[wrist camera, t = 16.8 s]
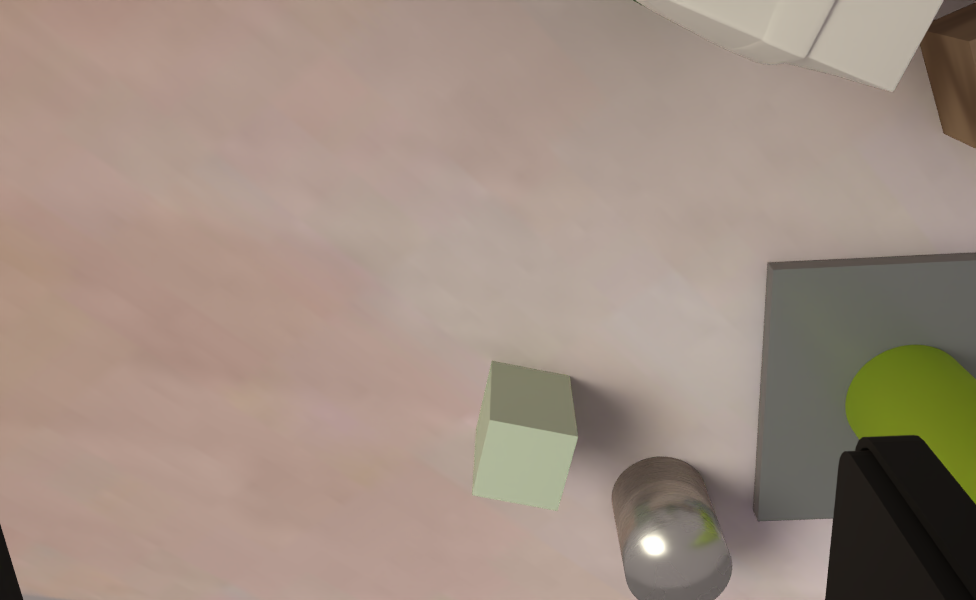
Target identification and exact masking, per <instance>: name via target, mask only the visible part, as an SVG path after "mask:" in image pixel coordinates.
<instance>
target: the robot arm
mask: <svg viewBox="0 0 976 600" xmlns="http://www.w3.org/2000/svg"><path fill="white" fill-rule="evenodd" d="M0 600H23V597H22V594H21V591H20V588H19V584H18V581H17V578H16V574H15V571H14V568H13V565H12V561H11V558H10V555H9V551H8V548H7V545H6V542H5V538H4V535H3V532H2V529H1V525H0ZM825 600H976V504H975V503H974V501H973V500H972V499H971V498H970V497H969V495H968V494H967V493H966V492H965V490H964V489H963V488H962V487H961V485H960V484H959V483H958V482H957V481H956V479H955V478H954V477H953V476H952V474H951V473H950V472H949V471H948V470H947V468H946V467H945V466H944V465H943V463H942V462H941V461H940V460H939V459H938V457H937V456H936V455H935V454H934V452H933V451H932V450H931V449H930V447H929V446H928V445H927V444H926V443H925V441H924V440H923V439H921V438H920V437H919V436H917V435H901V436H876V437H862V438H861V439H860V440H859V441H858V443H857V445H856V448H855V451H844V452H843V453H842V454H841V456H840V459H839V465H838V475H837V485H836V495H835V505H834V516H833V526H832V536H831V546H830V557H829V567H828V577H827V587H826V597H825Z"/></svg>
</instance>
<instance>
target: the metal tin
mask: <svg viewBox="0 0 976 600" xmlns="http://www.w3.org/2000/svg"><path fill="white" fill-rule="evenodd" d="M612 507H613V512H614V517H615V523H616V528H617V534H618V539H619V544H620V550H621V555H622V561H623V566H624V571H625V577H626V581H627V584H628V587H629V589H630V590H631V592H632V593H633V595H634V596H635V597H636V598H637V599H638V600H714V599H716V598H717V597H718V596H719V595H720V594H721V593H722V592H723V590H724V589H725V587H726V586H727V584H728V582H729V580H730V577H731V572H732V561H731V556H730V554H729V551H728V548H727V545H726V542H725V540H724V537H723V534H722V531H721V528H720V526H719V523H718V520H717V517H716V515H715V512H714V509H713V506H712V503H711V501H710V498H709V495H708V492H707V489H706V487H705V484H704V481H703V479H702V477H701V476H700V474H699V473H698V472H697V471H696V470H695V469H694V468H693V467H692V466H691V465H689V464H688V463H686V462H684V461H681V460H679V459H676V458H671V457H652V458H647V459H644V460H641V461H639V462H637V463H635V464H633V465H631V466H630V467H629V468H627V469H626V470H625V471H624V472H623V473H622V474H621V475H620V477H619V478H618V479H617V481H616V483H615V485H614V488H613V491H612Z"/></svg>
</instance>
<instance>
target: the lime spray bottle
mask: <svg viewBox="0 0 976 600" xmlns="http://www.w3.org/2000/svg"><path fill="white" fill-rule="evenodd" d="M845 409H846V416H847V420H848V422H849V425H850V427H851V428H852V430H853V431H854V433H855V434H856V436H857V437H858V439H859V440H860V439H861V438H862V437H876V436H901V435H917V436H919V437H920V438H921V439H923V440H924V441H925V443H926V444H927V445H928V446H929V447H930V449H931V450H932V451H933V452H934V454H935V455H936V456H937V457H938V459H939V460H940V461H941V462H942V463H943V465H944V466H945V467H946V468H947V470H948V471H949V472H950V473H951V474H952V476H953V477H954V478H955V479H956V481H957V482H958V483H959V484H960V485H961V487H962V488H963V489H964V490H965V492H966V493H967V494H968V495H969V497H970V498H971V499H972V500H973V501H974V503H975V504H976V379H975V378H974V377H973V376H972V375H971V374H970V373H969V372H968V371H967V370H965V369H964V368H963V367H962V366H961V365H960V364H959V363H958V362H957V361H956V360H955V359H954V358H953V357H951V356H950V355H949V354H947V353H946V352H944V351H942V350H940V349H937V348H934V347H931V346H925V345H905V346H900V347H896V348H893V349H890V350H887V351H885V352H883V353H881V354H879V355H877V356H876V357H874V358H873V359H871V360H870V361H869V362H867V363H866V364H865V365H864V366H863V367H862V368H861V369H860V370H859V372H858V373H857V374H856V376H855V377H854V379H853V380H852V382H851V384H850V386H849V389H848V392H847V396H846V403H845Z"/></svg>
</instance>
